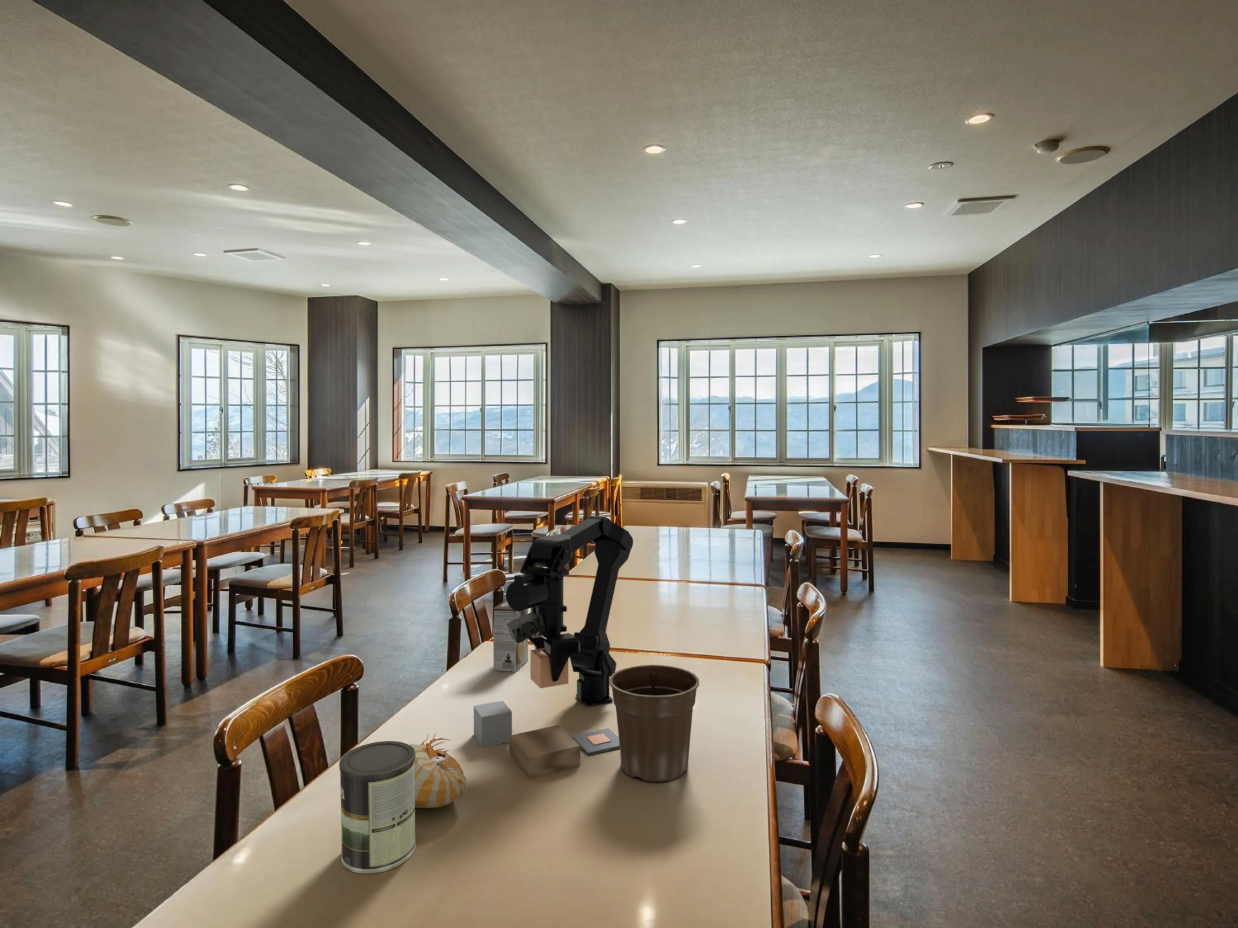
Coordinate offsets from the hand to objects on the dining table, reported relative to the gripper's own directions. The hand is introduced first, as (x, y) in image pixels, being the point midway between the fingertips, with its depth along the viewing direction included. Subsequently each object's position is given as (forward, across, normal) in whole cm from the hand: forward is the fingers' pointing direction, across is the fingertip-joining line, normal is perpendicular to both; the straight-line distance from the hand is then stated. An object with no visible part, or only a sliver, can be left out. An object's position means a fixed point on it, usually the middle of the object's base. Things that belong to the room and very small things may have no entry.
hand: (549, 675), depth 142 cm
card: (+10, +11, +6) cm, 16 cm away
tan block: (+11, +13, -6) cm, 18 cm away
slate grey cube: (+11, 0, -12) cm, 16 cm away
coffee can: (+11, +29, -37) cm, 48 cm away
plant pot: (+11, +24, +11) cm, 29 cm away
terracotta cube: (+1, 0, 0) cm, 1 cm away
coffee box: (+11, -39, +4) cm, 41 cm away
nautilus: (+11, +15, -27) cm, 33 cm away
